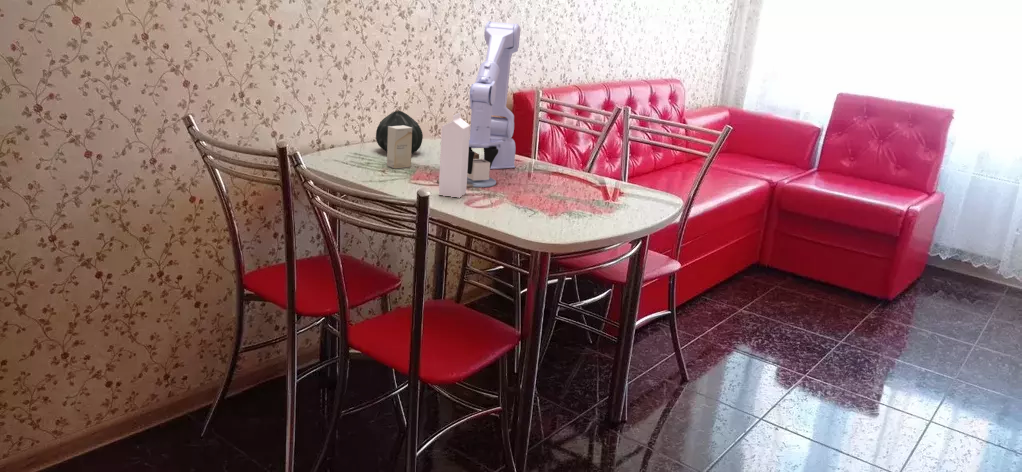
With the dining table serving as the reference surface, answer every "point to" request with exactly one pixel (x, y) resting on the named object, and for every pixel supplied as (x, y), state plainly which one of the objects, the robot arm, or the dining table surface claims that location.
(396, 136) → the skincare box
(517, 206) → the dining table surface
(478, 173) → the letter cube
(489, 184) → the light blue plate
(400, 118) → the squash
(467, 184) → the cork mat
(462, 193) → the milk
